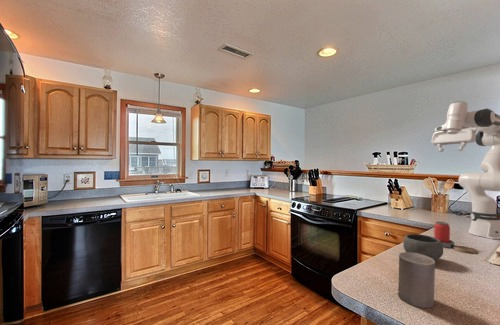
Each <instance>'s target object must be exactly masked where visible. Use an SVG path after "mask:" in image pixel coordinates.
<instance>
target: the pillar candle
mask: <svg viewBox="0 0 500 325" xmlns="http://www.w3.org/2000/svg"><path fill="white" fill-rule="evenodd" d="M435 269H436V260H435V261H434V260H433V259H432V258H430V257H427V256H425V255H422V254H418V253H412V252H406V251H403V252H400V253H399V255H398V286H397V287H398V289H397V290H398V292H397V294H398V298H399V299H400V300H401V301H403V302H404V303H406V304H408V305H410V306H413V307H415V308H421V309H431V308H433V306H434V305H435V280H436V279H435V277H436V276H435V274H436V270H435Z"/></svg>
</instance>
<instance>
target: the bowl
mask: <svg viewBox="0 0 500 325" xmlns="http://www.w3.org/2000/svg"><path fill="white" fill-rule="evenodd" d="M433 237H434V236H431V235H430V236H429V235H426V234H420V233H419V234H416V233H415V234H414V233H411V234H406V235H405V236H404V237H403V244H402V246H403V249H404V252H412V253H418V254H422V255H425V256H427V257H430V258H432V259H433V260H434V261H435V262H436V261H438V260H440V258H442V256H443V255H444V247H443V245H442V243H441V241H440V240H439V239H436V238H433Z"/></svg>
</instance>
